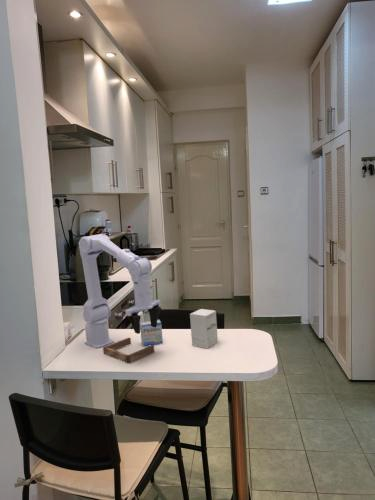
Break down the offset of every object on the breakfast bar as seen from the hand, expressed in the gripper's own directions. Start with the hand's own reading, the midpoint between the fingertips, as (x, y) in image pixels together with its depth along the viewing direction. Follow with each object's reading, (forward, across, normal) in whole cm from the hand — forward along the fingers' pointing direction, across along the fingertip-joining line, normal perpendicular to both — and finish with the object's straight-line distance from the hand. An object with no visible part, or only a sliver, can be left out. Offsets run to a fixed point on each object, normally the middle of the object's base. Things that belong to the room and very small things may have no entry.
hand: (145, 329), depth 147 cm
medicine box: (+10, +9, +9) cm, 17 cm away
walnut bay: (+10, -3, +9) cm, 14 cm away
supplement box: (+10, +21, -9) cm, 25 cm away
